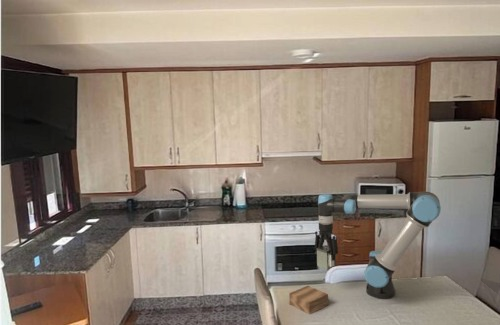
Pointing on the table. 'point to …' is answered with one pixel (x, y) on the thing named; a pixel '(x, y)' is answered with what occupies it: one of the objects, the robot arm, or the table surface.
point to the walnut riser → (308, 299)
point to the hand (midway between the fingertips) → (326, 263)
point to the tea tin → (324, 257)
